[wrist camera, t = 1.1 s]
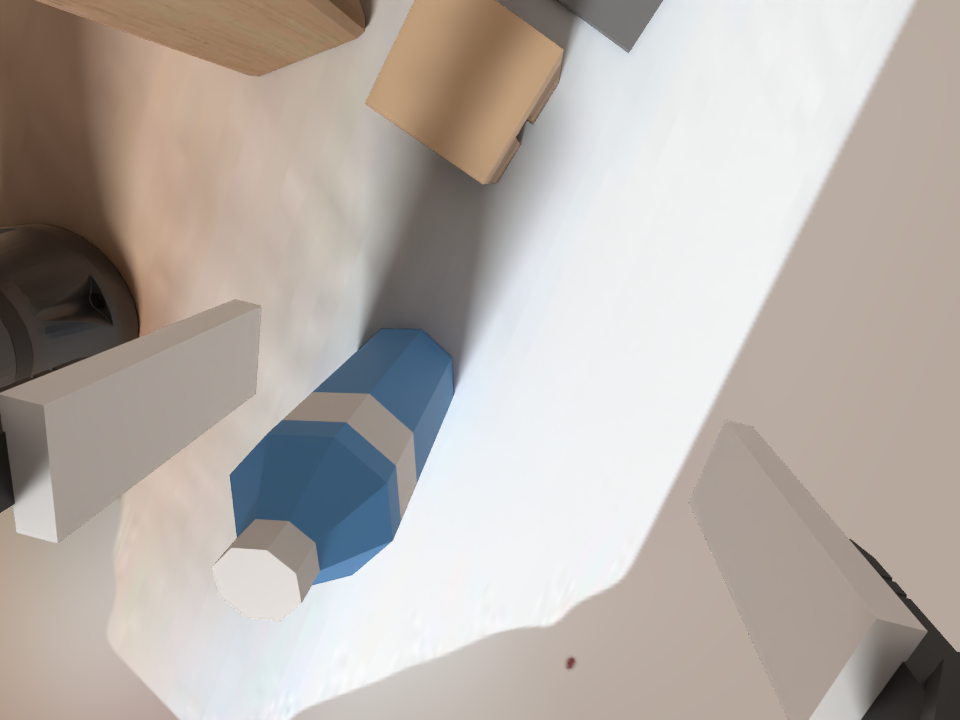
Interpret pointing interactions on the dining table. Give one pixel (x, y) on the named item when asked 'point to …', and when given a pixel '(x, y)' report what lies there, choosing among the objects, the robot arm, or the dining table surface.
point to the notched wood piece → (467, 81)
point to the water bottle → (334, 474)
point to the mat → (616, 17)
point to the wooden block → (231, 27)
